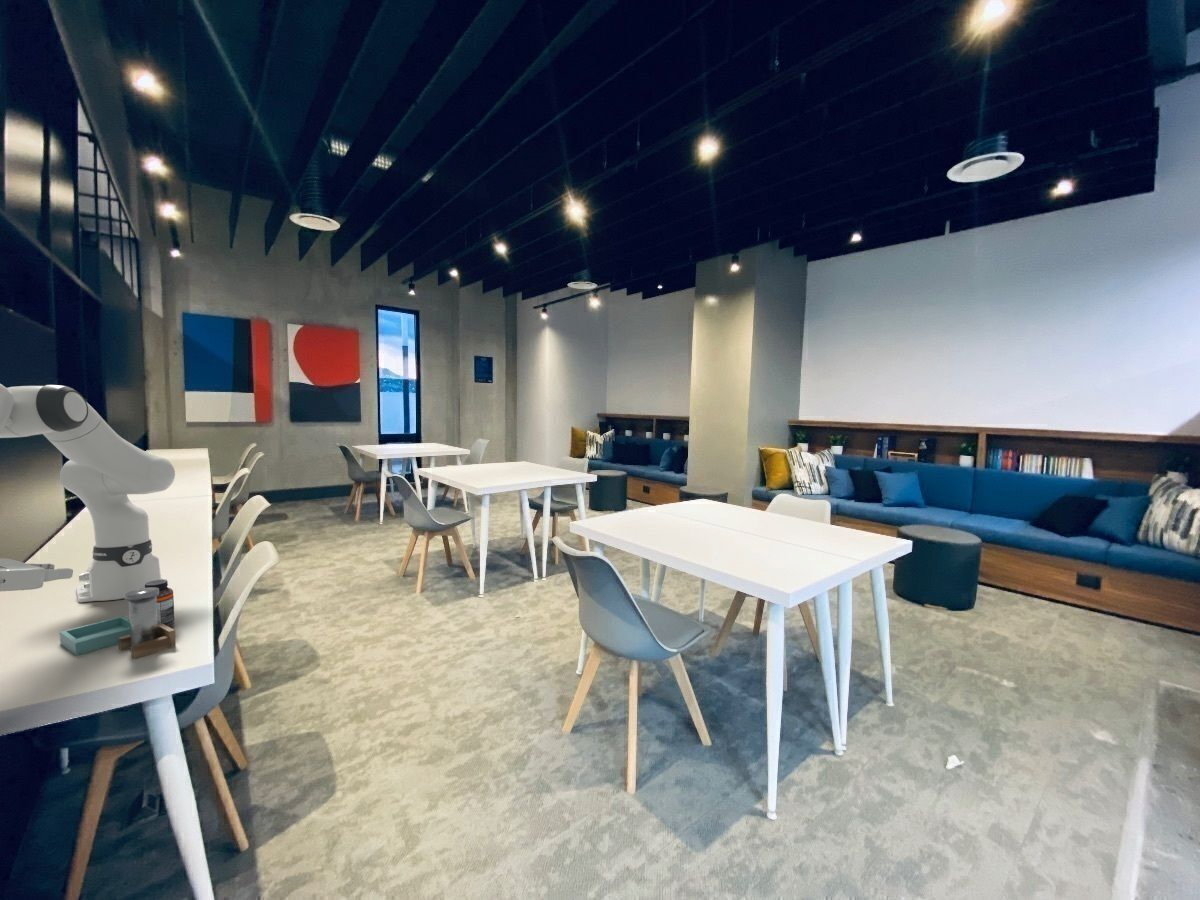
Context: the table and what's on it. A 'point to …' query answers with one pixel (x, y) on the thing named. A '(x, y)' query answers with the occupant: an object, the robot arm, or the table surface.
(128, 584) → the robot arm
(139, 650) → the bracket
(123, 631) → the tray
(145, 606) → the pin
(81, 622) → the table surface
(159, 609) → the supplement bottle
